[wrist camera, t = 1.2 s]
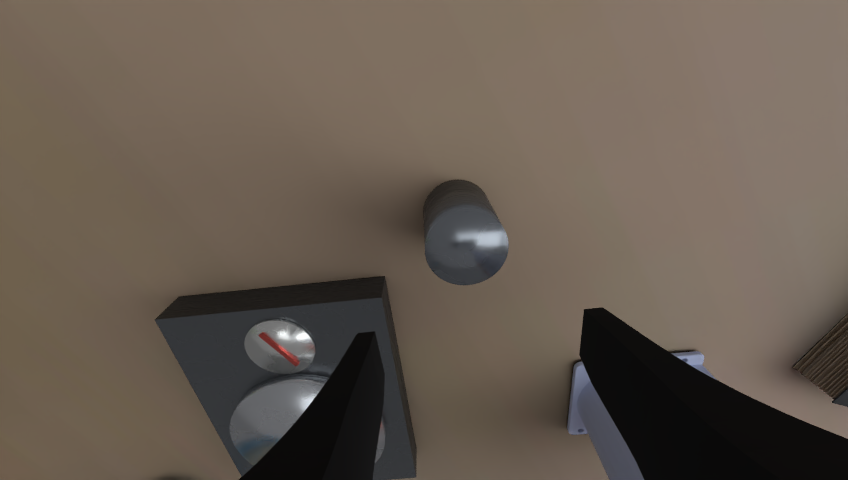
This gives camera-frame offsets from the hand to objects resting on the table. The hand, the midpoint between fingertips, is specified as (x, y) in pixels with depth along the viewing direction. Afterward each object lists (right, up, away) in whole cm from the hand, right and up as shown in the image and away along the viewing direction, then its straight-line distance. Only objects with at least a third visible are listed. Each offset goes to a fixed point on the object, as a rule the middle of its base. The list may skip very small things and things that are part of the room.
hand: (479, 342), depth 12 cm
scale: (-11, -8, +15) cm, 20 cm away
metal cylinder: (0, +5, +9) cm, 11 cm away
